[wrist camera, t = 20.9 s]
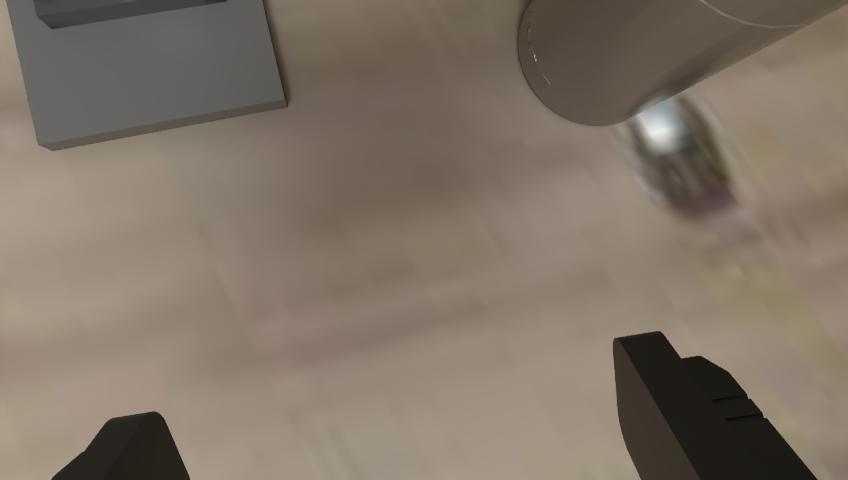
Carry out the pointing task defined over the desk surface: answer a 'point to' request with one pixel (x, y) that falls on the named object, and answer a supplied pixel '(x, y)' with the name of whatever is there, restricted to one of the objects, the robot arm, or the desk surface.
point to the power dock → (141, 65)
